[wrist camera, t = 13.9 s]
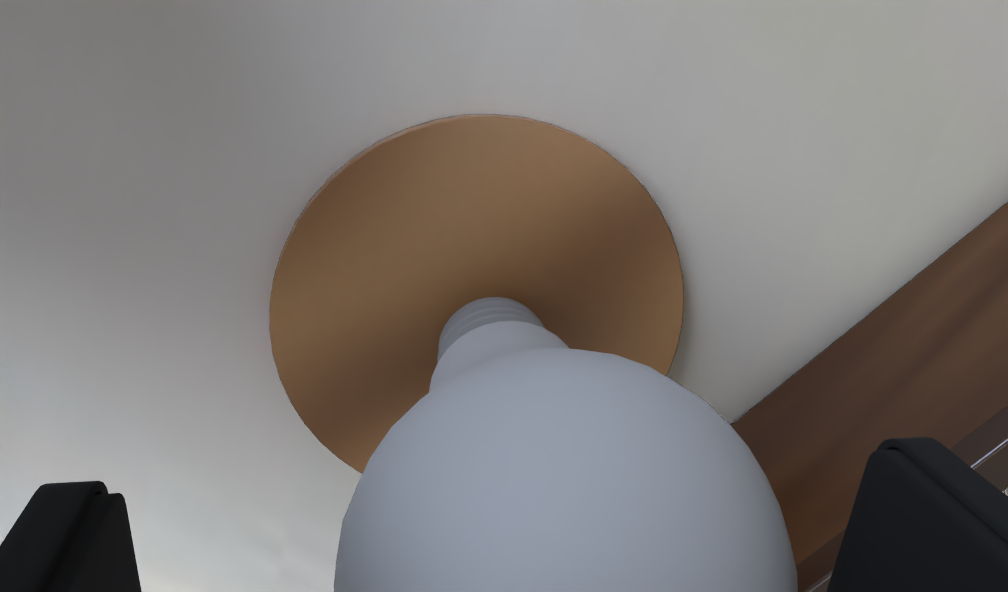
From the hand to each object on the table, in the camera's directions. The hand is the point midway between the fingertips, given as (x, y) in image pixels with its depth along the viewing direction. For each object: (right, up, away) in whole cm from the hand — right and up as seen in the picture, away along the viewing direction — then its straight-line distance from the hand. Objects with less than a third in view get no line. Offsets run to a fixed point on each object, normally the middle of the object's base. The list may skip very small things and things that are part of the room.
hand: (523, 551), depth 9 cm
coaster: (-1, +3, +9) cm, 9 cm away
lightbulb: (-1, +2, +8) cm, 9 cm away
